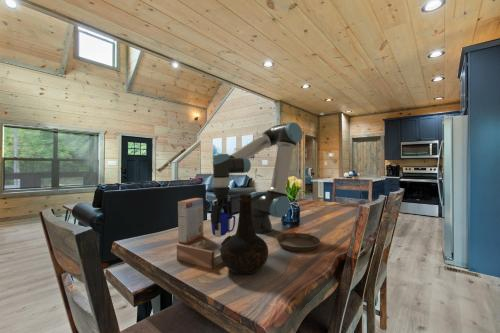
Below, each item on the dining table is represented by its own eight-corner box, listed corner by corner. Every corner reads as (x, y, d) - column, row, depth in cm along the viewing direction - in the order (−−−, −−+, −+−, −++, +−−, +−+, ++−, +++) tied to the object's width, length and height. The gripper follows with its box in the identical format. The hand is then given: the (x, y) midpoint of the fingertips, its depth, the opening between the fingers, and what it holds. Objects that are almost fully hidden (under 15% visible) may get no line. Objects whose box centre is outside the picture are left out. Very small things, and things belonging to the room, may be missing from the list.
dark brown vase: (225, 258, 99) (225, 191, 99) (269, 260, 97) (268, 191, 97) (215, 278, 81) (215, 196, 81) (267, 281, 80) (267, 197, 80)
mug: (233, 238, 109) (232, 216, 109) (208, 236, 112) (207, 215, 111) (237, 232, 117) (237, 212, 117) (214, 231, 120) (214, 211, 119)
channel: (203, 247, 113) (203, 234, 113) (236, 254, 104) (236, 240, 104) (176, 259, 98) (176, 244, 98) (211, 268, 89) (211, 252, 89)
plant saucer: (311, 257, 102) (311, 249, 102) (269, 248, 113) (269, 241, 113) (325, 243, 119) (325, 237, 119) (287, 237, 130) (287, 231, 130)
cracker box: (195, 235, 133) (194, 197, 133) (203, 236, 130) (203, 198, 130) (177, 242, 120) (177, 200, 120) (186, 244, 118) (186, 201, 118)
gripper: (226, 184, 124) (228, 228, 124) (201, 188, 107) (202, 239, 107) (239, 184, 120) (240, 230, 121) (215, 188, 103) (216, 241, 103)
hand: (222, 234), depth 114 cm, fingers closed on mug, 7 cm apart
